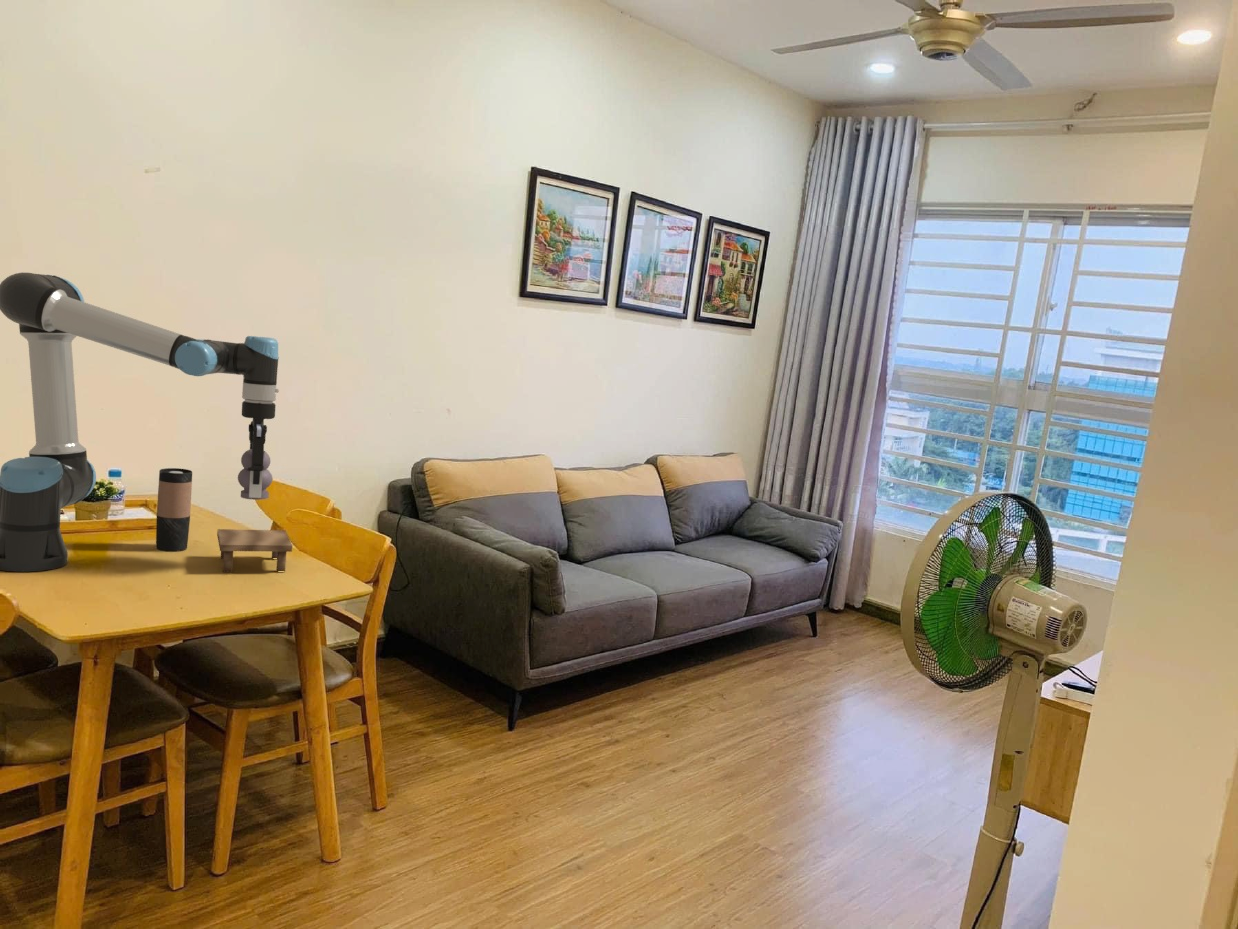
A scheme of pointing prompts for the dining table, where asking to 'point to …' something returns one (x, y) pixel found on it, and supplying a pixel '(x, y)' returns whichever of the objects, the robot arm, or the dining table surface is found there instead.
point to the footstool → (253, 544)
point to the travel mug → (173, 509)
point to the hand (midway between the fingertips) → (254, 493)
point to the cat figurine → (245, 475)
